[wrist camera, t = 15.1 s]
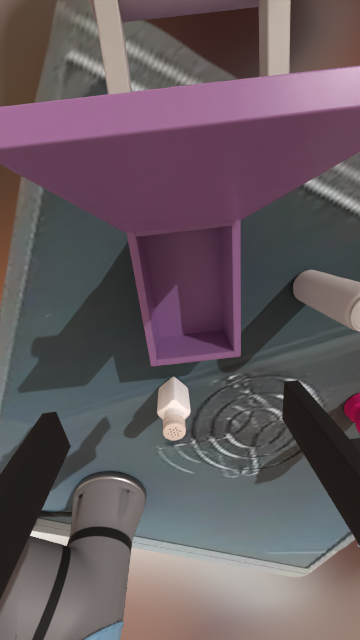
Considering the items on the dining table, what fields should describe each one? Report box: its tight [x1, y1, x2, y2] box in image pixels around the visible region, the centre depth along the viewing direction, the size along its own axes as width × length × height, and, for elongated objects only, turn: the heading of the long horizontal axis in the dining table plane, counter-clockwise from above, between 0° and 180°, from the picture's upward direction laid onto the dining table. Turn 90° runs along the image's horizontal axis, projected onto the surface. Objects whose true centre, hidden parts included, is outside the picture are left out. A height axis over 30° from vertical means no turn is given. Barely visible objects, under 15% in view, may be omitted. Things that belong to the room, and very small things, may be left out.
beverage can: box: [293, 270, 360, 332], centre depth 28 cm, size 5×5×12 cm
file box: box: [127, 220, 241, 366], centre depth 29 cm, size 17×12×7 cm
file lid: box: [0, 0, 360, 233], centre depth 13 cm, size 18×12×7 cm
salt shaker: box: [157, 377, 191, 440], centre depth 35 cm, size 4×4×10 cm
